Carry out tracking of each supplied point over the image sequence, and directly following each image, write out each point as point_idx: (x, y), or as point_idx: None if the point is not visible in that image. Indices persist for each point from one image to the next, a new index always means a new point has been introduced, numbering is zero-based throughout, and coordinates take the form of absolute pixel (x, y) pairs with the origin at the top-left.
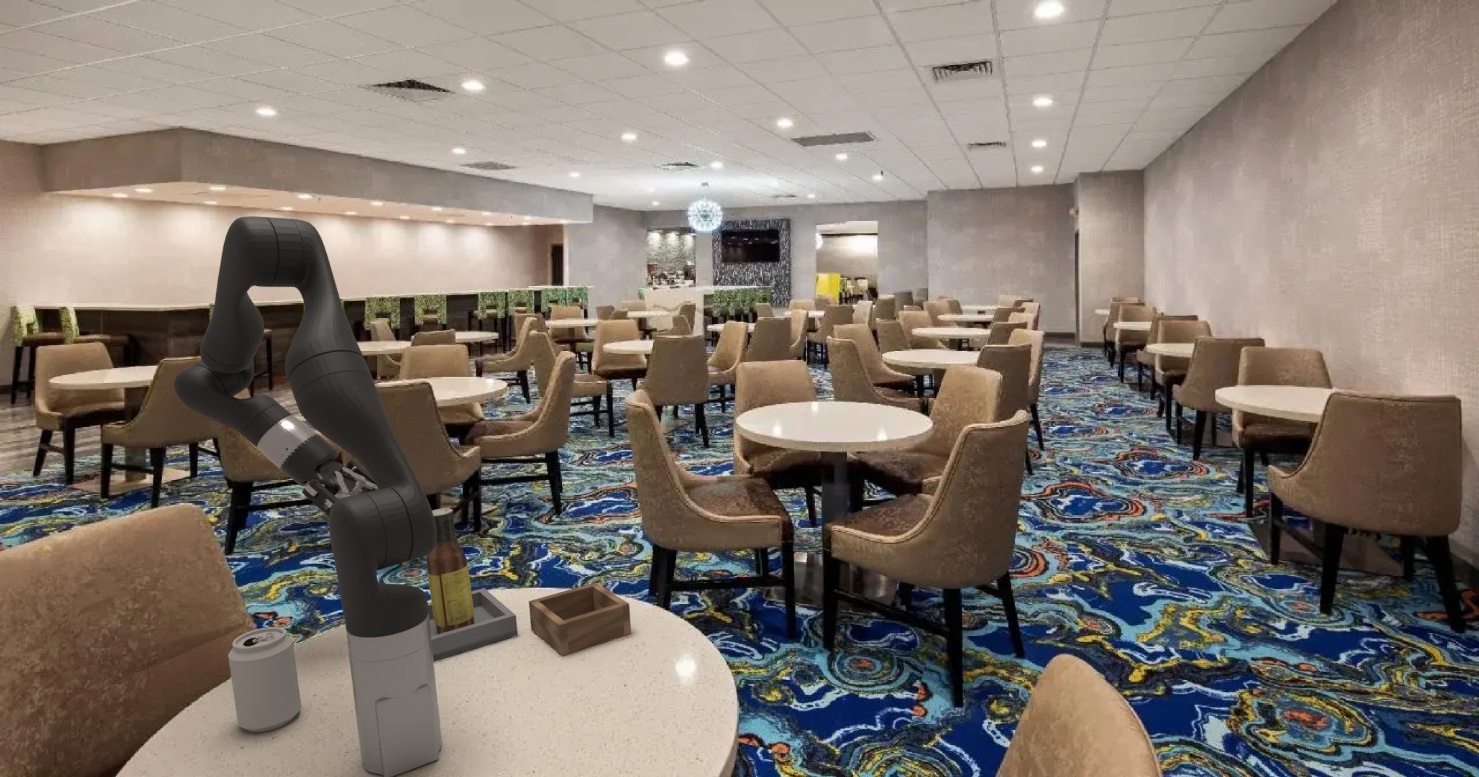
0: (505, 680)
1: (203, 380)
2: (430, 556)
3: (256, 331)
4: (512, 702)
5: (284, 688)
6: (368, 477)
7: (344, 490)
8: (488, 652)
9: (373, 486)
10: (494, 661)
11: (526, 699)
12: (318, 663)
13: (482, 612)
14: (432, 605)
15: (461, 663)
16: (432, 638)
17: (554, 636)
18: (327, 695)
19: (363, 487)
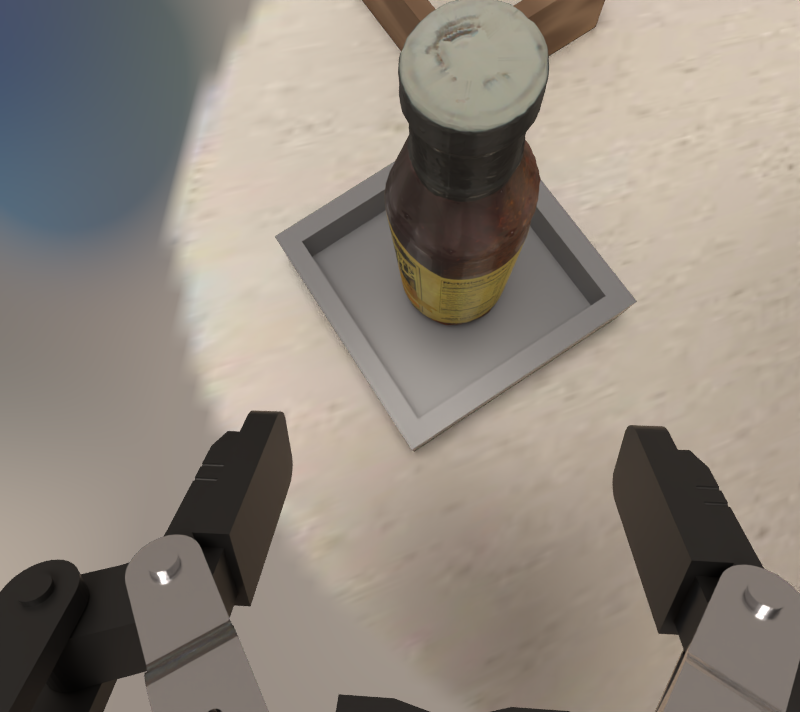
0: (700, 114)
1: None
2: (525, 216)
3: None
4: (796, 78)
5: None
6: (35, 670)
7: (745, 705)
8: (560, 183)
9: (183, 562)
10: (608, 158)
11: (783, 55)
12: (587, 602)
13: (359, 240)
14: (487, 301)
15: (613, 229)
16: (609, 277)
17: (577, 15)
18: (764, 498)
19: (94, 700)
